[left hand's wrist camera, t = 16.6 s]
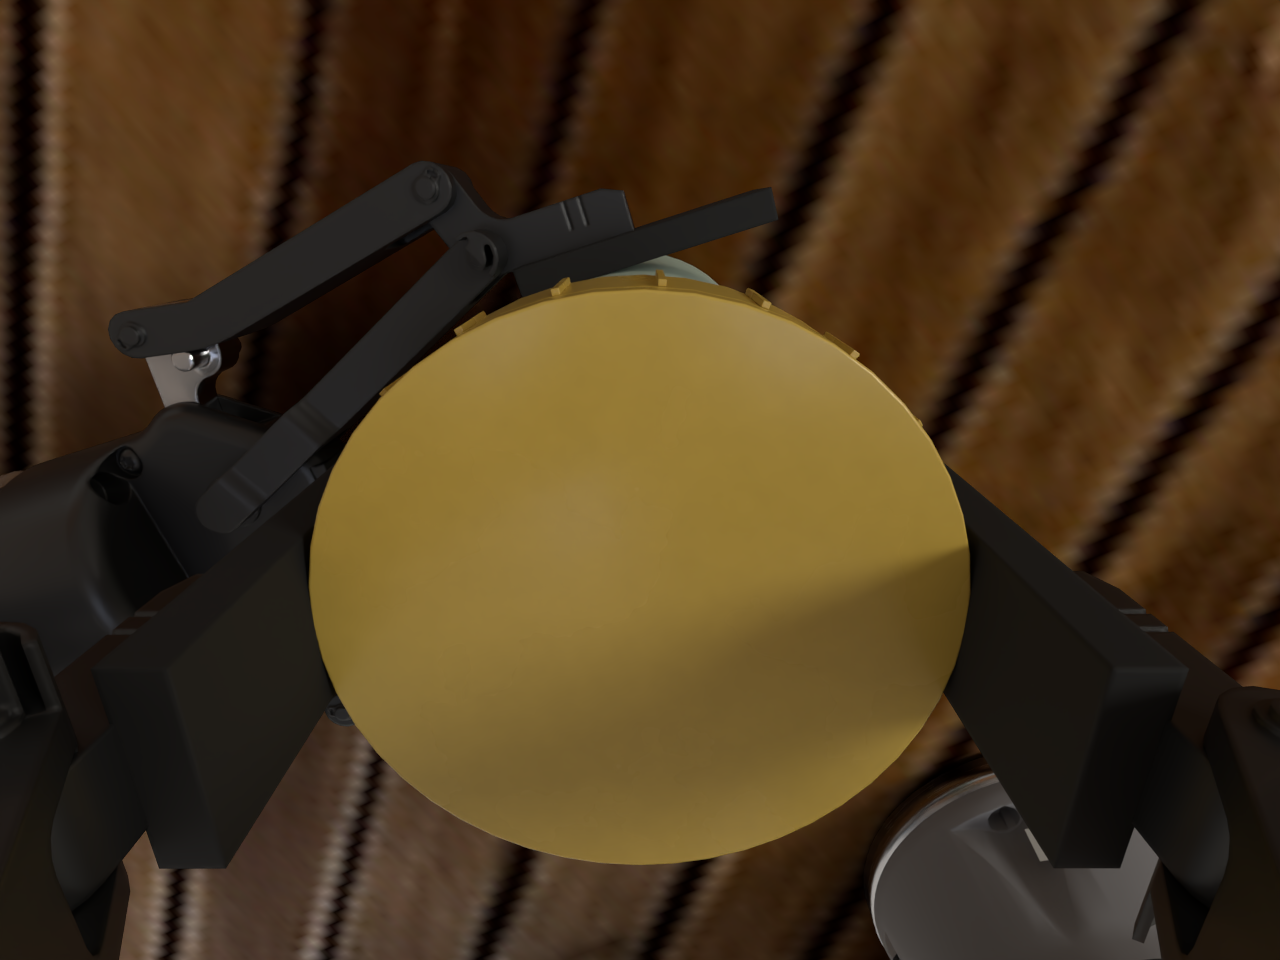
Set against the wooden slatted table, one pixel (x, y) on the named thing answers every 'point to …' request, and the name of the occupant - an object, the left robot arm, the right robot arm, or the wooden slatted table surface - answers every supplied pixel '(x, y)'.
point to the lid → (639, 572)
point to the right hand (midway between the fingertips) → (801, 370)
